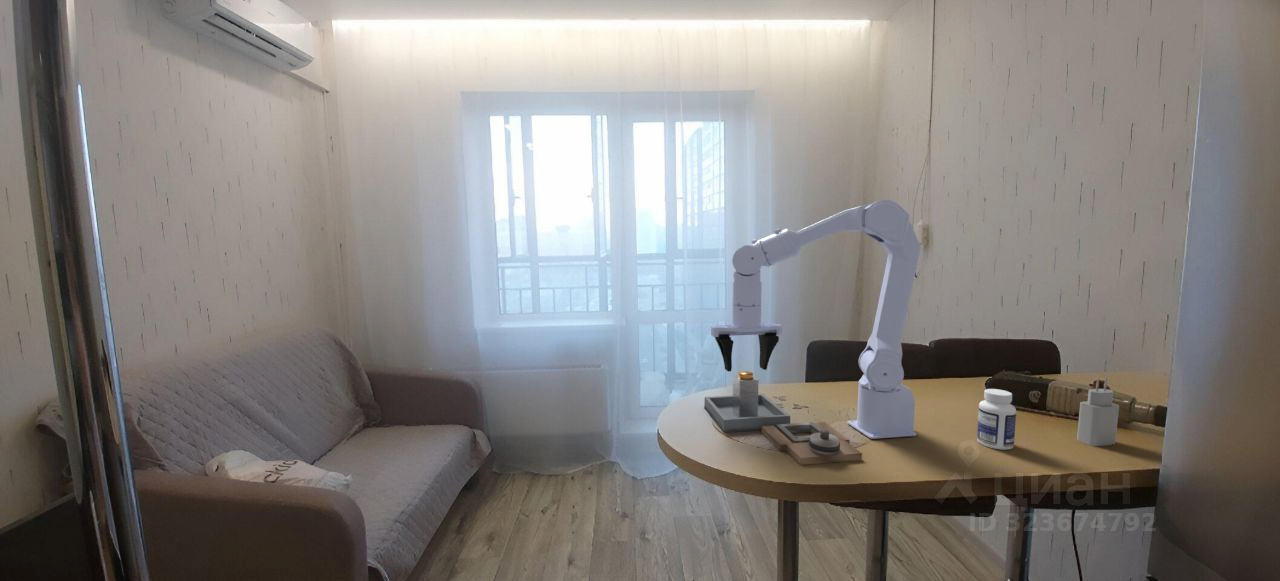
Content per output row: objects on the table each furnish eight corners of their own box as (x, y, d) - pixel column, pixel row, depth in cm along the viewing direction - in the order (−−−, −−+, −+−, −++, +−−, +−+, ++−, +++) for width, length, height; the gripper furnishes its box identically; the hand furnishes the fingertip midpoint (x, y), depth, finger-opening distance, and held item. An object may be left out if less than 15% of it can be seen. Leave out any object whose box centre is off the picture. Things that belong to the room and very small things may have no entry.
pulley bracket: (824, 427, 93) (825, 406, 93) (868, 459, 79) (869, 434, 79) (761, 432, 91) (761, 410, 91) (794, 465, 78) (795, 440, 77)
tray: (762, 404, 106) (762, 393, 106) (790, 428, 93) (790, 415, 93) (704, 407, 104) (704, 397, 104) (723, 432, 91) (724, 420, 91)
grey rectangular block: (750, 410, 101) (751, 369, 100) (757, 417, 97) (758, 375, 96) (732, 411, 100) (733, 370, 99) (739, 418, 96) (739, 376, 95)
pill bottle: (1006, 440, 87) (1010, 388, 86) (1018, 452, 82) (1023, 398, 81) (972, 436, 89) (975, 386, 88) (982, 448, 84) (986, 395, 83)
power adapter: (1117, 444, 85) (1124, 379, 84) (1093, 446, 84) (1099, 381, 83) (1097, 436, 88) (1104, 374, 87) (1074, 439, 87) (1080, 376, 86)
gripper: (772, 301, 101) (770, 362, 103) (707, 302, 99) (706, 365, 101) (787, 305, 94) (785, 371, 96) (717, 307, 92) (716, 375, 94)
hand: (745, 369), depth 98 cm, fingers open, 7 cm apart
